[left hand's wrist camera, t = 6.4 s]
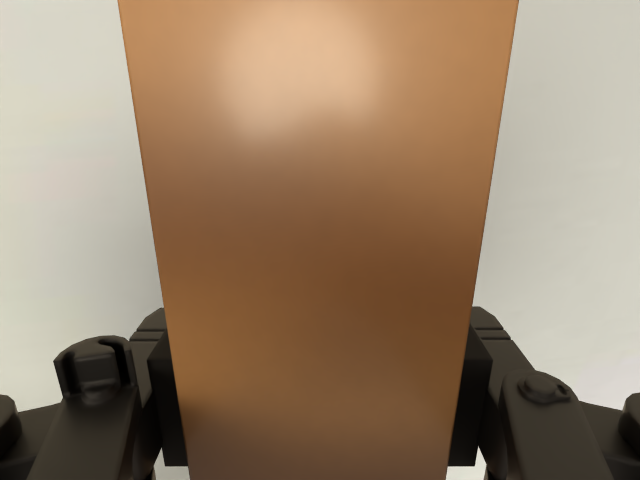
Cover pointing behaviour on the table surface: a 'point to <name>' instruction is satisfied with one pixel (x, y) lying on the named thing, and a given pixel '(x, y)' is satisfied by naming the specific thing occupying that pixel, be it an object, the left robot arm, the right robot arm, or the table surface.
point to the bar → (318, 222)
